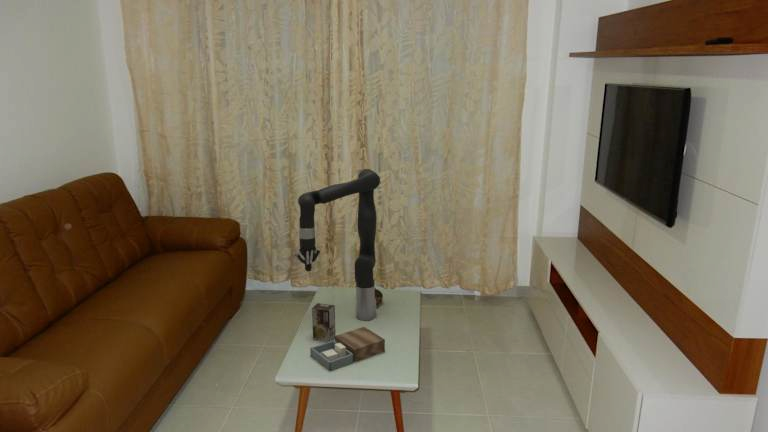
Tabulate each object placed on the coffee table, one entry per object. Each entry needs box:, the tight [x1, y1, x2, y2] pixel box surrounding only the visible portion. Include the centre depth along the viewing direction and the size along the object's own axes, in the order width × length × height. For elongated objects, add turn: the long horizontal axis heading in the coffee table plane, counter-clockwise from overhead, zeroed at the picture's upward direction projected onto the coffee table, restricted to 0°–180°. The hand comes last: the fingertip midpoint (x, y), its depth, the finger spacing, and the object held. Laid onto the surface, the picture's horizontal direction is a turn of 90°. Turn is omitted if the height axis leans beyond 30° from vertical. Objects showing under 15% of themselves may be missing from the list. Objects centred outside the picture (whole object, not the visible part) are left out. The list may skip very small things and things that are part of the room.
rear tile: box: [335, 343, 346, 358], centre depth 245 cm, size 5×5×2 cm
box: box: [309, 339, 355, 372], centre depth 244 cm, size 12×16×4 cm
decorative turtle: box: [374, 286, 384, 306], centre depth 303 cm, size 10×15×8 cm, turn 18°
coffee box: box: [311, 302, 336, 343], centre depth 261 cm, size 9×6×16 cm
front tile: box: [322, 349, 338, 361], centre depth 243 cm, size 5×5×2 cm
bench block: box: [334, 326, 386, 363], centre depth 252 cm, size 16×16×6 cm
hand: (308, 270), depth 271 cm, fingers closed
